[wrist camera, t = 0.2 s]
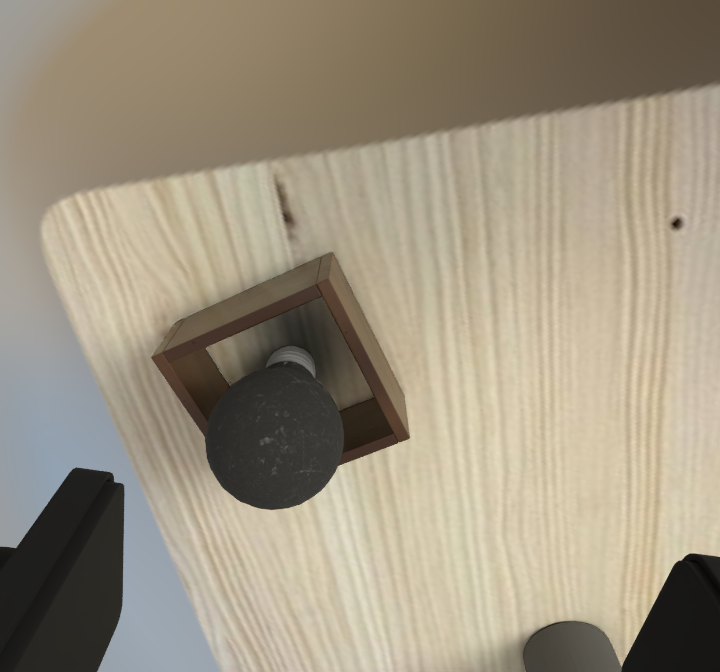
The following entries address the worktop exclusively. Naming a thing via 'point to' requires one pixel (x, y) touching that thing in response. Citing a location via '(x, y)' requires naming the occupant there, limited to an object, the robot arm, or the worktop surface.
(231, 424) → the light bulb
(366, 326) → the crate
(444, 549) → the worktop surface
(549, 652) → the bottle
